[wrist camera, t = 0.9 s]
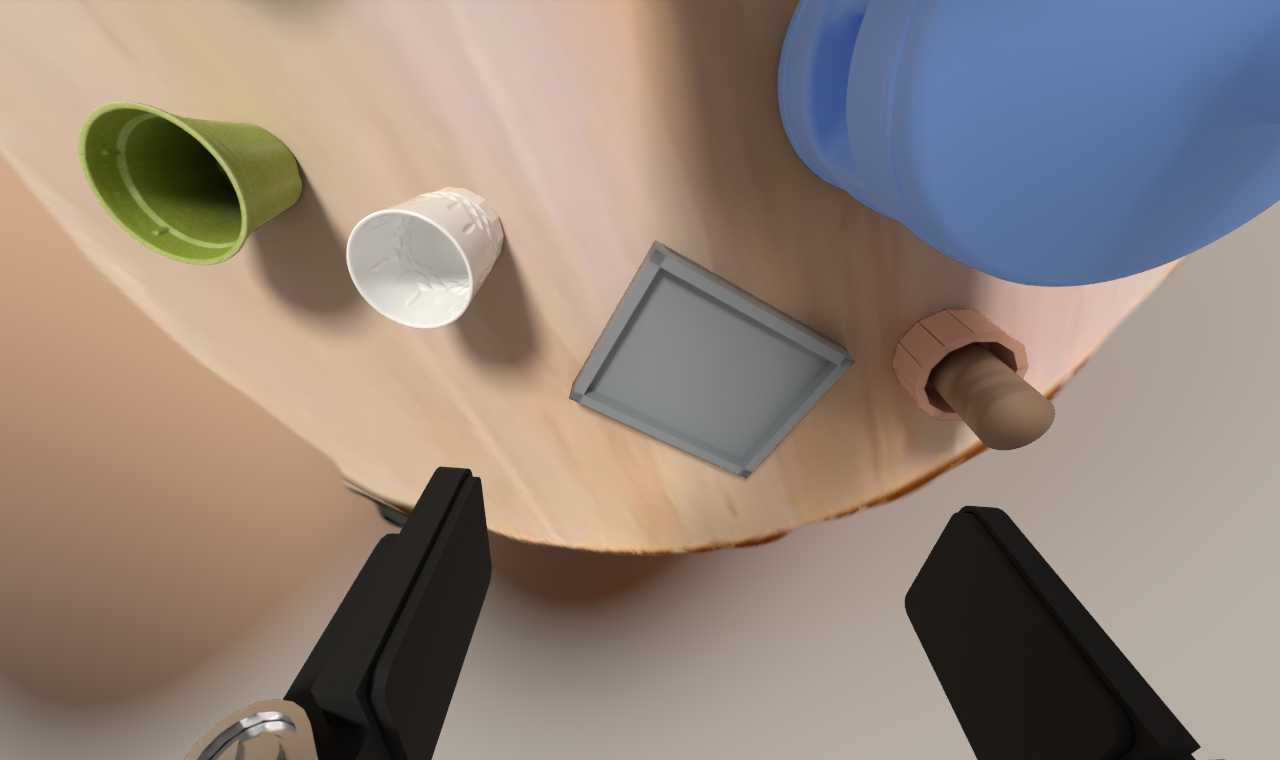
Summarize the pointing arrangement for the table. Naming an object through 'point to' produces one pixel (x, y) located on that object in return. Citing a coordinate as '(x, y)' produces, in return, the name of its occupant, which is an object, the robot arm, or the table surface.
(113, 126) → the plant pot
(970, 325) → the terracotta cup
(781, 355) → the slate tray
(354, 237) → the white cup
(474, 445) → the table surface
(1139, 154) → the water jug
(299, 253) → the table surface
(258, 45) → the table surface
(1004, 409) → the walnut cylinder
